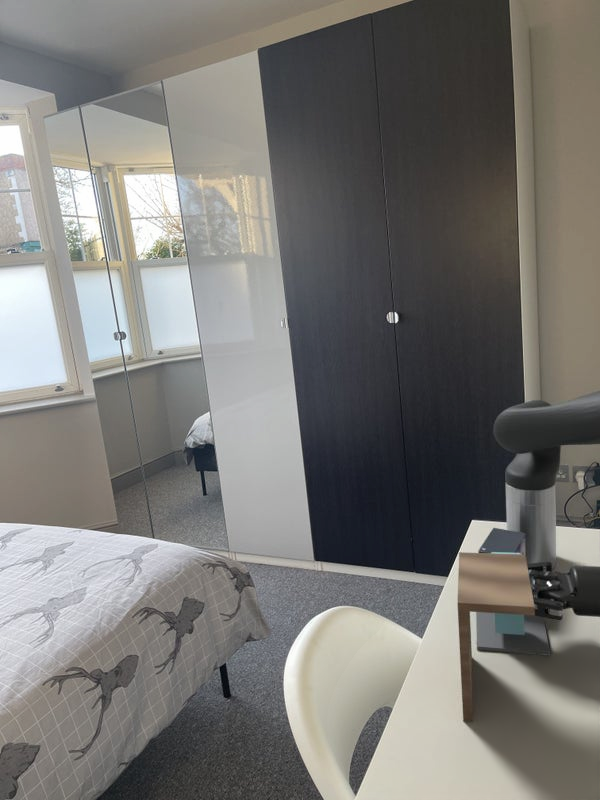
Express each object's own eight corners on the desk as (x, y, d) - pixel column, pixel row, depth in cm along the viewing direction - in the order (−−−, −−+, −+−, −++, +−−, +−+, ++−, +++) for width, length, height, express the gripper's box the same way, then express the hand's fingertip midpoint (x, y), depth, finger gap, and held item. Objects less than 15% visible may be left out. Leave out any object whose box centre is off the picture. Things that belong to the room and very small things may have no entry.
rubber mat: (476, 614, 107) (476, 611, 107) (542, 618, 104) (542, 615, 104) (476, 649, 98) (476, 646, 98) (550, 655, 95) (549, 651, 94)
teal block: (494, 617, 102) (491, 552, 99) (522, 618, 101) (520, 552, 98) (495, 633, 98) (492, 565, 95) (524, 634, 96) (522, 566, 94)
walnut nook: (464, 656, 96) (459, 552, 92) (527, 661, 94) (525, 554, 90) (463, 720, 83) (457, 602, 79) (536, 728, 81) (534, 606, 77)
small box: (515, 610, 107) (513, 556, 105) (478, 603, 111) (476, 550, 108) (527, 582, 116) (526, 531, 113) (493, 575, 119) (491, 526, 117)
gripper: (596, 548, 99) (487, 545, 104) (615, 594, 86) (489, 588, 91) (596, 589, 101) (489, 584, 106) (615, 641, 88) (491, 633, 93)
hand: (490, 586), depth 98 cm, fingers closed on teal block, 4 cm apart
